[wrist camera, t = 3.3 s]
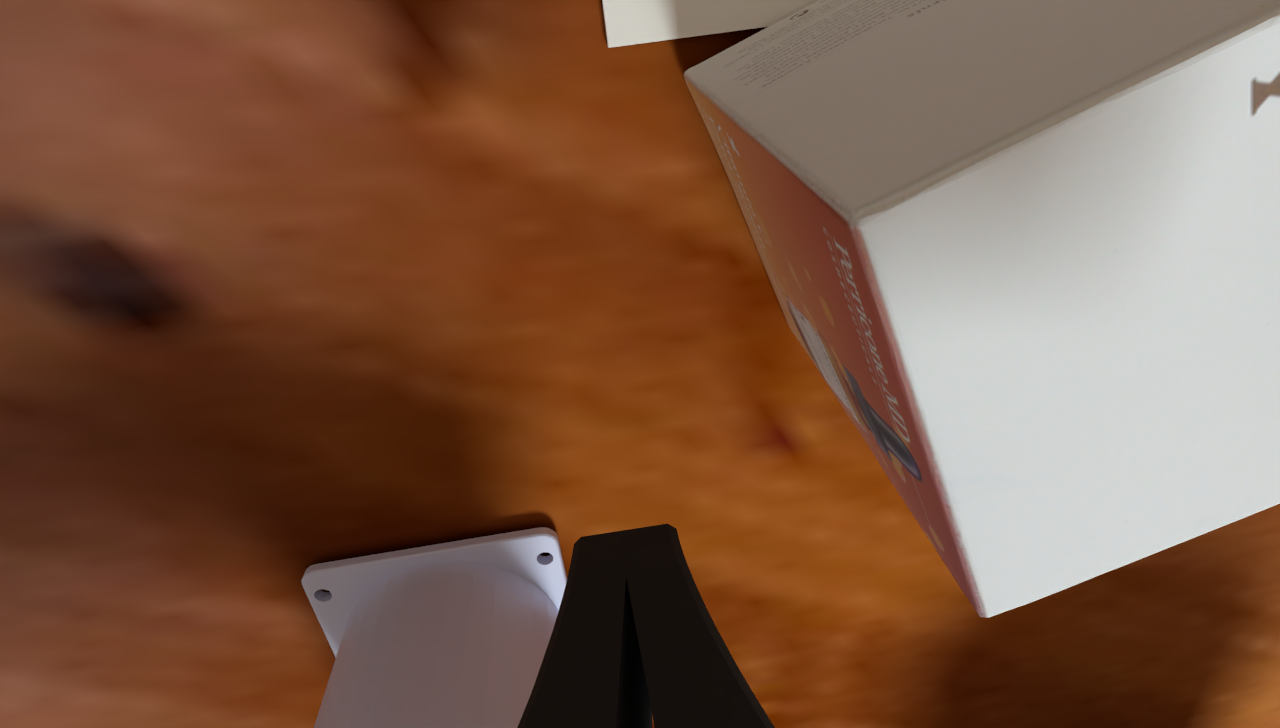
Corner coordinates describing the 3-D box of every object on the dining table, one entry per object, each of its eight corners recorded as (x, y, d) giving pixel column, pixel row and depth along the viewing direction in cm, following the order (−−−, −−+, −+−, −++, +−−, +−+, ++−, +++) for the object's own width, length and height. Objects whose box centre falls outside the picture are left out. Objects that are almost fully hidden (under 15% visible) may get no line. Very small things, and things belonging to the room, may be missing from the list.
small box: (677, 68, 17) (839, 207, 8) (903, -51, 16) (1379, -53, 7) (787, 335, 21) (980, 636, 12) (972, 249, 20) (1331, 497, 11)
